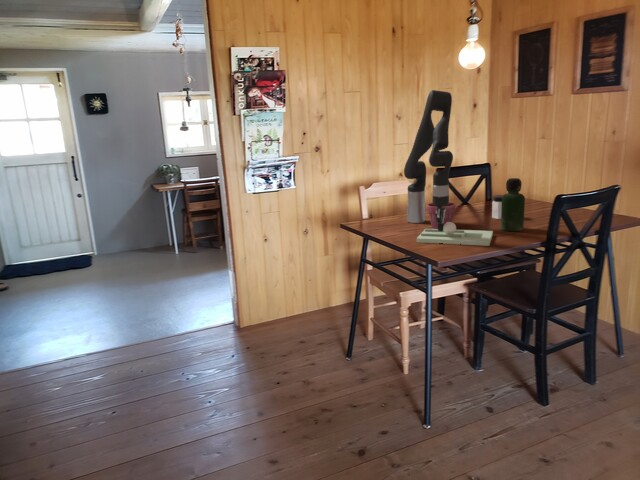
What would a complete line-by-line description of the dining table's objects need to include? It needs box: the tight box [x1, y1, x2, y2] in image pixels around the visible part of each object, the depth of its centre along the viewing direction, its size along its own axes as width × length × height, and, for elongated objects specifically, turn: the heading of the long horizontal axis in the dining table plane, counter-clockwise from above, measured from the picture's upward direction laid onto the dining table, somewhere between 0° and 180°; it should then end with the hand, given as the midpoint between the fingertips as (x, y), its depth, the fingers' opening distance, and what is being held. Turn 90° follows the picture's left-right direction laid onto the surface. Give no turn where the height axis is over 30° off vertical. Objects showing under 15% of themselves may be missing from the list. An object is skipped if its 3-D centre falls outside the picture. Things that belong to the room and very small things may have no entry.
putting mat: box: [416, 228, 494, 247], centre depth 222 cm, size 32×20×3 cm, turn 66°
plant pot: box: [426, 201, 456, 229], centre depth 242 cm, size 14×14×13 cm
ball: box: [443, 222, 457, 234], centre depth 222 cm, size 6×6×6 cm
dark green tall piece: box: [500, 177, 526, 232], centre depth 230 cm, size 10×10×25 cm
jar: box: [491, 194, 504, 220], centre depth 259 cm, size 9×8×12 cm
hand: (440, 230), depth 223 cm, fingers closed
